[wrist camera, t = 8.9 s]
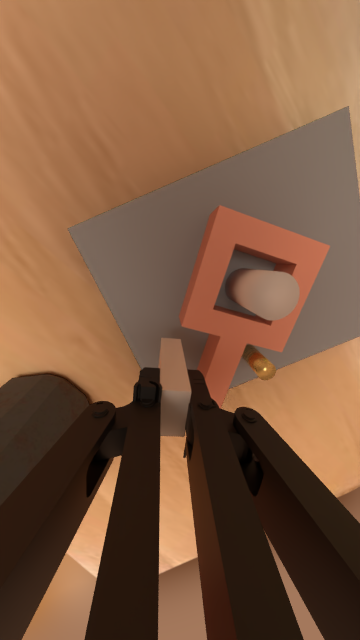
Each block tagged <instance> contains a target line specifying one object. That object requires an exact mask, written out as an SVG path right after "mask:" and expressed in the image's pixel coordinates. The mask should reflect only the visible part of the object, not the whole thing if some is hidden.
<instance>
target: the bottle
mask: <svg viewBox="0 0 360 640" xmlns="http://www.w3.org/2000/svg"><path fill="white" fill-rule="evenodd" d="M88 406H89V403H88V401H87V398H86V396H85V395H84V394H83V393H82V392H81V391H79V390H78V389H77V388H76V387H74V386H73V385H72V384H71V383H69V382H68V381H67V380H66V379H64V378H61V377H58V376H55V375H51V374H45V375H36V376H27V377H18V378H12V379H11V380H9V381H8V382H7V383H6V384H4V385H3V386H2V387H1V388H0V506H1V504H2V503H3V502H4V501H5V500H6V499H7V498H8V496H9V495H10V494H11V493H12V492H13V491H14V490H15V489H16V487H17V486H18V485H19V484H20V483H21V482H22V481H23V479H24V478H25V477H26V476H27V475H28V474H29V473H30V471H31V470H32V469H33V468H34V467H35V466H36V465H37V463H38V462H39V461H40V460H41V459H42V458H43V457H44V455H45V454H46V453H47V452H48V451H49V450H50V449H51V448H52V446H53V445H54V444H55V443H56V442H57V441H58V440H59V438H60V437H61V436H62V435H63V434H64V433H65V432H66V430H67V429H68V428H69V427H70V426H71V425H72V424H73V422H74V421H75V420H76V419H77V418H78V417H79V416H80V414H81V413H82V412H83V411H84V410H85V409H86V408H87V407H88Z"/></svg>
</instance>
